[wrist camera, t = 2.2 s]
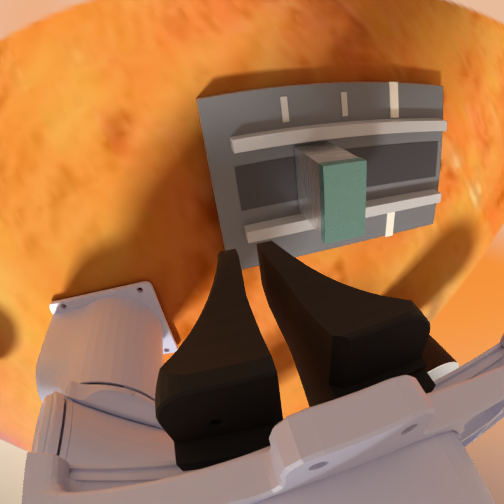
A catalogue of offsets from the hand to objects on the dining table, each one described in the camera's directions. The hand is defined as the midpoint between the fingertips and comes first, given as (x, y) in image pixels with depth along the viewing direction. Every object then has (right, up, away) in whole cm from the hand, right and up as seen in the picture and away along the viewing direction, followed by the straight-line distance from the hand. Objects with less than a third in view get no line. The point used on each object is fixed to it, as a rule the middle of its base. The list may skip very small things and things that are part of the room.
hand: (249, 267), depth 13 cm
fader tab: (+4, +6, +7) cm, 10 cm away
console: (+6, +7, +9) cm, 13 cm away
